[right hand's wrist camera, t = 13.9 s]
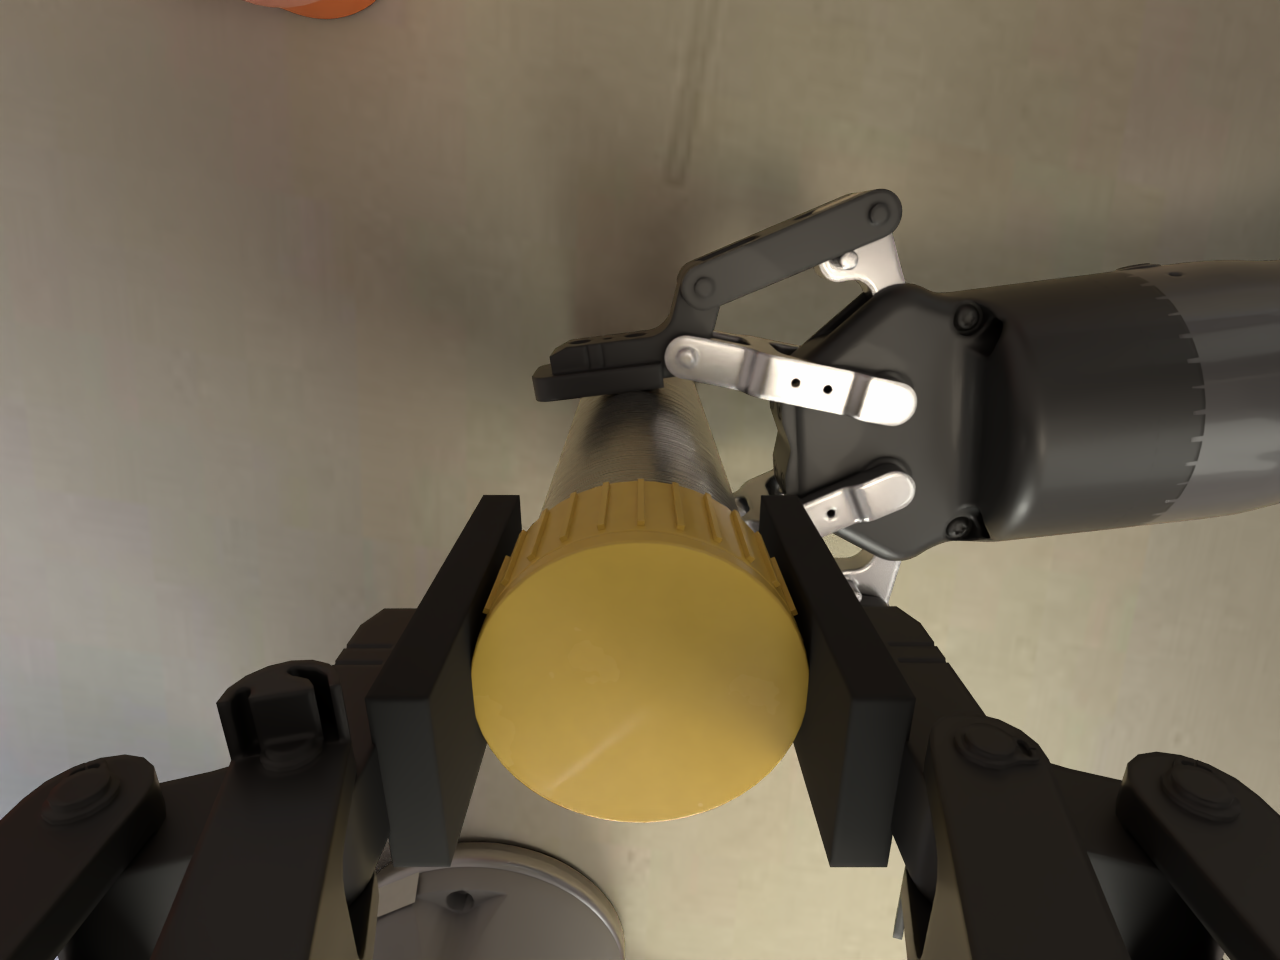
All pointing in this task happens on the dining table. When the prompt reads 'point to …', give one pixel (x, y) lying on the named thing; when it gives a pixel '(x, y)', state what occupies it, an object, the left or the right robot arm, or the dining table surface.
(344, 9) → the cup with straw
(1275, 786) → the dining table surface
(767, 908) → the dining table surface
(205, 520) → the dining table surface
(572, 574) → the lid
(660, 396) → the metal bottle
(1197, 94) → the dining table surface
